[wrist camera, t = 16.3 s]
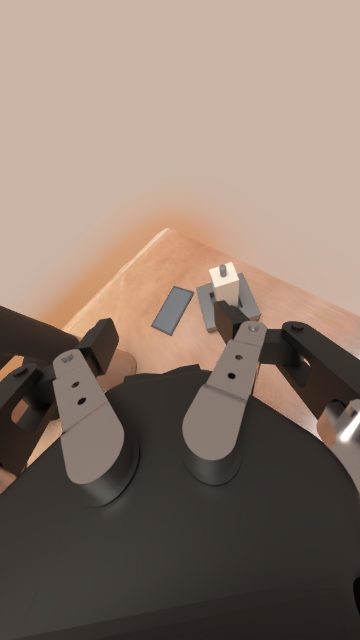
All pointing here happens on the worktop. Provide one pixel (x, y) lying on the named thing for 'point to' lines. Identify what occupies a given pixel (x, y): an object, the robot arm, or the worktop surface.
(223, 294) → the white block with peg
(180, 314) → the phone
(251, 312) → the block
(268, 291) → the worktop surface
